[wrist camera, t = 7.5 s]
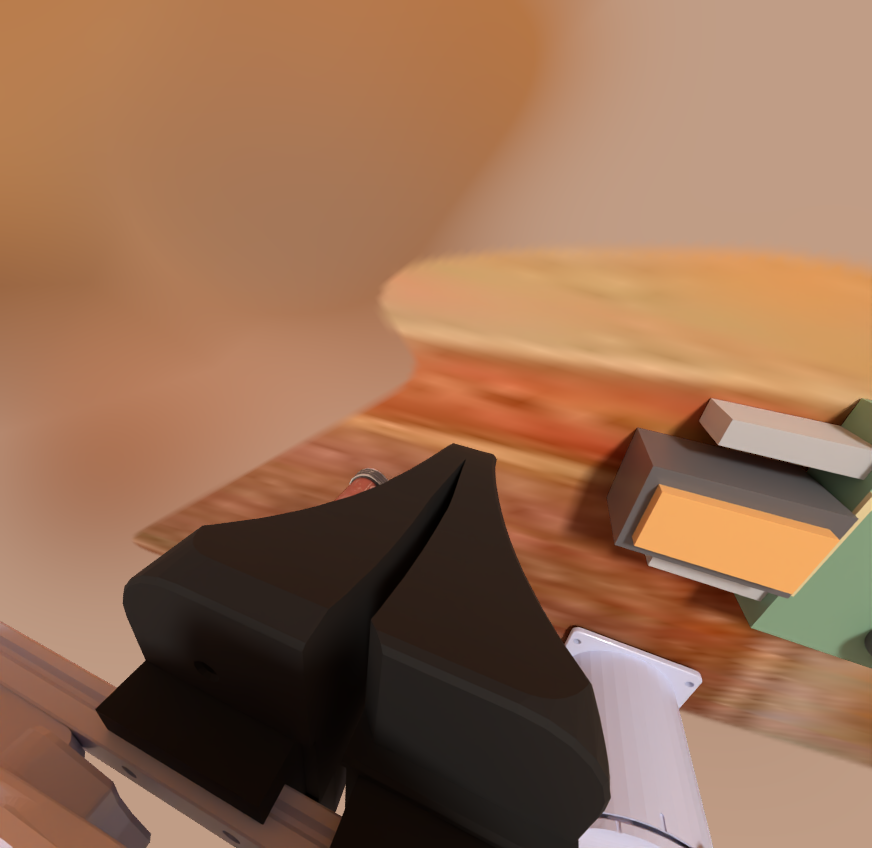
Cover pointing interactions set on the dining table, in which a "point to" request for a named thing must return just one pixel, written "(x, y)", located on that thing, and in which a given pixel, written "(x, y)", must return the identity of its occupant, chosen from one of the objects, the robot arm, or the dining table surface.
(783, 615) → the deck
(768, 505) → the grey box orange face
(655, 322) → the dining table surface
